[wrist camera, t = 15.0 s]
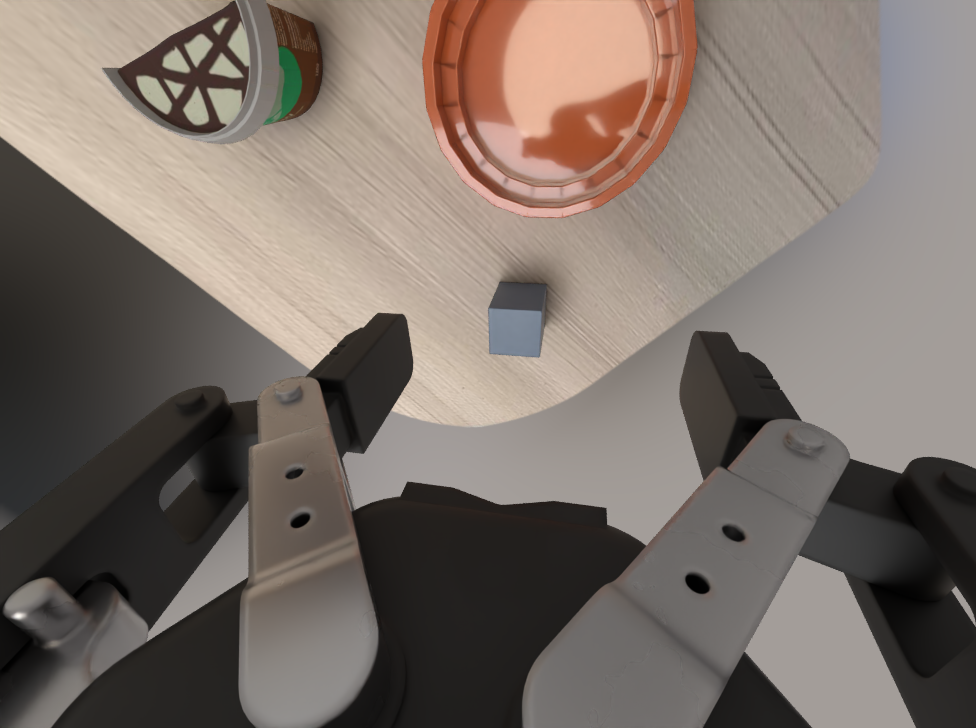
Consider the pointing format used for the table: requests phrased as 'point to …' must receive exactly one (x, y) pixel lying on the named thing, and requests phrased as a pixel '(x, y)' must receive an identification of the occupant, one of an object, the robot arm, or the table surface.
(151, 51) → the food container
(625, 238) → the table surface
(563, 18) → the bowl
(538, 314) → the block
